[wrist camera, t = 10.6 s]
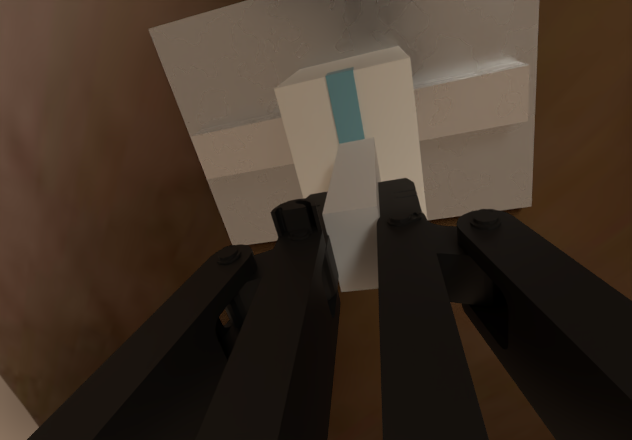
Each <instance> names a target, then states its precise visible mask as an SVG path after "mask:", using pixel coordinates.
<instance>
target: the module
mask: <svg viewBox="0 0 632 440" xmlns="http://www.w3.org/2000/svg"><path fill="white" fill-rule="evenodd" d="M274 91H275V95H276V98H277V102H278V106H279V109H280V113H281V117H282V121H283V124H284V128H285V132H286V135H287V139H288V143H289V147H290V150H291V154H292V158H293V161H294V165H295V169H296V173H297V176H298V180H299V184H300V187H301V191H302V195H303V198H305V199H306V198H307V197H308V196H309V195H310V194H315V193H322V192H328V188H329V184H330V180H331V176H332V172H333V167H334V163H335V159H336V155H337V151H338V147H339V144H341V143H346V142H352V141H357V140H362V139H367V138H373V137H374V140H375V146H376V153H377V159H378V165H379V171H380V177H381V182H383V181H389V180H395V179H401V178H408V179H409V180H411V181H412V182H414V185H415V188H416V192H417V196H418V199H419V203H420V207H421V210H422V212H423V213H424V215H425V216H426V218H427V211H426V202H425V192H424V183H423V173H422V164H421V154H420V145H419V135H418V126H417V116H416V107H415V98H414V88H413V79H412V69H411V60H410V57H409V56H408V55H407V54H406V53H405V52H404V51H403V50H402V48H401V47H400V46H395V47H391V48H387V49H383V50H378V51H374V52H370V53H366V54H362V55H357V56H353V57H349V58H345V59H341V60H336V61H332V62H328V63H324V64H320V65H315V66H311V67H307V68H303V69H299V70H298V71H297V72H295V73H294V74H293V75H291V76H290V77H289V78H287V79H286V80H285V81H284V82H282V83H281V84H280V85H278V86H277V87H276V88H274Z"/></svg>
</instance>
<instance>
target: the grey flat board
mask: <svg viewBox="0 0 632 440" xmlns="http://www.w3.org/2000/svg"><path fill="white" fill-rule="evenodd" d="M538 19H539V0H246V1H243V2H240V3H236V4H233V5H229V6H226V7H222V8H219V9H215V10H212V11H209V12H205V13H202V14H198V15H195V16H191V17H188V18H184V19H181V20H177V21H174V22H171V23H167V24H164V25H160V26H157V27H153V28H150V29H148V30H149V32H150V35H151V37H152V40H153V42H154V45H155V48H156V50H157V53H158V55H159V58H160V60H161V63H162V66H163V68H164V71H165V73H166V76H167V78H168V81H169V83H170V86H171V89H172V91H173V94H174V96H175V99H176V101H177V104H178V107H179V109H180V112H181V114H182V117H183V119H184V122H185V125H186V127H187V130H188V132H189V135H190V137H191V140H192V143H193V145H194V148H195V150H196V153H197V155H198V158H199V161H200V163H201V166H202V168H203V171H204V173H205V176H206V178H207V181H208V184H209V186H210V189H211V191H212V194H213V196H214V199H215V202H216V204H217V207H218V209H219V212H220V214H221V217H222V220H223V222H224V225H225V227H226V230H227V232H228V235H229V238H230V240H231V243H232V245H239V244H243V245H250V244H257V243H264V242H272V241H277V239H278V235H277V232H276V229H275V225H274V222H273V219H272V216H271V213H270V212H271V211H272V210H273V209H274V208H275V207H277V206H278V205H280V204H282V203H285V202H287V201H291V200H295V199H303V195H302V191H301V187H300V184H299V180H298V176H297V173H296V169H295V165H294V161H293V158H292V154H291V150H290V147H289V143H288V139H287V135H286V132H285V128H284V124H283V121H282V117H281V113H280V109H279V106H278V102H277V98H276V95H275V91H274V88H276V87H277V86H278V85H280V84H281V83H282V82H284V81H285V80H286V79H287V78H289V77H290V76H291V75H293V74H294V73H295V72H297V71H298V70H299V69H303V68H307V67H311V66H315V65H320V64H324V63H328V62H332V61H336V60H341V59H345V58H349V57H353V56H357V55H362V54H366V53H370V52H374V51H378V50H383V49H387V48H391V47H395V46H400V47H401V48H402V50H403V51H404V52H405V53H406V54H407V55H408V56H409V57H410V60H411V69H412V79H413V88H414V98H415V107H416V116H417V126H418V135H419V145H420V154H421V164H422V173H423V183H424V192H425V202H426V211H427V220H434V219H442V218H449V217H456V216H462V215H464V214H466V213H469V212H471V211H476V210H480V209H494V210H499V211H501V210H508V209H516V208H523V207H530V206H531V203H532V177H533V151H534V124H535V98H536V72H537V46H538Z"/></svg>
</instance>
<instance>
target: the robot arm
mask: <svg viewBox="0 0 632 440" xmlns="http://www.w3.org/2000/svg"><path fill="white" fill-rule="evenodd" d="M270 213H271V216H272V219H273V222H274V225H275V229H276V232H277V235H278V239H277V242H276V244H275V247H274V249H272V250H269V251H267V252H263V253H260V254H257V255H254V254H253V252H252V249H251V248H250V247H249V246H248V245H243V244H239V245H230V246H229V247H228V246H227V247H224V248H223V249H222V250H220V251H218V252H216V253H215V254H214V255H212V256H211V257H210V258H209V259H208V260H207V261H206V262H205V263H204V264H203V265H202V266H201V267H200V268H199V269H198V270H197V271H196V272H195V273H194V274H193V275H192V276H191V277H190V278H189V279H188V280H187V281H186V282H185V283H184V284H183V285H182V286H181V287H180V288H179V289H178V290H177V291H176V292H175V293H174V294H173V295H172V296H171V297H170V298H169V299H168V300H167V301H166V302H165V303H164V304H163V305H162V306H161V307H160V308H159V309H158V310H157V311H156V312H155V313H154V314H153V315H152V316H151V317H150V318H149V319H148V320H147V321H146V322H145V323H144V324H143V325H142V326H141V327H140V328H139V329H138V330H137V331H136V332H135V333H134V334H133V335H132V336H131V337H130V338H129V339H128V340H127V341H126V342H125V343H124V344H123V345H122V346H121V347H120V348H119V349H118V350H116V351H115V352H114V353H113V354H112V355H111V356H110V357H109V358H108V359H107V360H106V361H105V362H104V363H103V364H102V365H101V366H100V367H99V368H98V369H97V370H96V371H95V372H94V373H93V374H92V375H91V376H90V377H89V378H88V379H87V380H86V381H85V382H84V383H83V384H82V385H81V386H80V387H79V388H78V389H77V390H76V391H75V392H74V393H73V394H72V395H71V396H70V397H69V398H68V399H67V400H66V401H65V402H64V403H63V404H62V405H61V406H60V407H59V408H58V409H57V410H56V411H55V412H54V413H53V414H52V415H51V416H50V417H49V418H48V419H47V420H46V421H45V422H44V423H43V424H42V425H41V426H40V427H39V428H38V429H37V430H36V431H35V432H34V433H33V434H32V435H31V436H30V437H29V438H28V439H27V440H327V438H328V427H329V417H330V407H331V396H332V386H333V376H334V365H335V355H336V345H337V334H338V324H339V314H340V298H339V294H338V290H337V287H338V280H339V284H340V288H341V292H347V291H357V290H367V289H377V288H378V290H379V323H380V356H381V390H382V423H383V440H489V439H488V435H487V432H486V428H485V425H484V421H483V418H482V414H481V410H480V407H479V403H478V400H477V396H476V393H475V389H474V385H473V382H472V378H471V375H470V371H469V368H468V364H467V361H466V357H465V353H464V350H463V346H462V343H461V339H460V336H459V332H458V329H457V325H456V321H455V318H454V314H453V311H452V307H451V304H450V302H455V303H462V307H463V309H464V312H465V313H466V315H467V316H468V317H469V319H470V320H471V322H472V323H473V324H474V326H475V327H476V329H477V330H478V331H479V333H480V334H481V336H482V337H483V338H484V340H485V341H486V343H487V344H488V345H489V347H490V348H491V350H492V351H493V352H494V354H495V355H496V356H497V358H498V359H499V361H500V362H501V363H502V365H503V366H504V368H505V369H506V370H507V372H508V373H509V375H510V376H511V377H512V379H513V380H514V382H515V383H516V384H517V386H518V387H519V389H520V390H521V391H522V393H523V394H524V396H525V397H526V398H527V400H528V401H529V403H530V404H531V405H532V407H533V408H534V410H535V411H536V412H537V414H538V415H539V417H540V418H541V419H542V421H543V422H544V424H545V425H546V426H547V428H548V429H549V431H550V432H551V433H552V435H553V436H554V438H555V439H556V440H632V301H631V300H630V299H628V298H627V297H625V296H624V295H623V294H621V293H620V292H618V291H617V290H616V289H614V288H613V287H611V286H610V285H609V284H607V283H606V282H604V281H603V280H602V279H600V278H599V277H597V276H596V275H595V274H593V273H592V272H590V271H589V270H588V269H586V268H585V267H584V266H582V265H581V264H579V263H578V262H577V261H575V260H574V259H572V258H571V257H570V256H568V255H567V254H565V253H564V252H563V251H561V250H560V249H558V248H557V247H556V246H554V245H553V244H551V243H550V242H549V241H547V240H546V239H544V238H543V237H542V236H540V235H539V234H537V233H536V232H535V231H533V230H532V229H530V228H529V227H528V226H526V225H525V224H524V223H522V222H521V221H519V220H518V219H517V218H515V217H514V216H512V215H510V214H508V213H506V212H504V211H499V210H494V209H480V210H476V211H471V212H469V213H466V214H464V215H462V216H461V217H460V218H459V219H458V221H457V227H454V226H440V225H436V224H433V223H431V222H428V221H427V218H426V216H425V215H424V213H423V212H422V210H421V207H420V203H419V199H418V196H417V192H416V188H415V185H414V182H412V181H411V180H409V179H408V178H401V179H395V180H389V181H383V182H381V177H380V171H379V165H378V159H377V153H376V146H375V140H374V137H373V138H367V139H362V140H357V141H352V142H346V143H341V144H339V147H338V151H337V155H336V159H335V163H334V167H333V172H332V176H331V180H330V184H329V188H328V192H322V193H315V194H310V195H309V196H308V197H307V198H306V199H305V198H303V199H295V200H291V201H287V202H285V203H282V204H280V205H278V206H277V207H275V208H274V209H273V210H272V211H271V212H270ZM224 309H225V310H226V312H227V314H228V317H229V319H230V320H229V321H228V322H227V324H225V325H224V326H223V325H222V323H221V321H220V319H219V316H220V314H221V313H222V312H223V311H224Z"/></svg>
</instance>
